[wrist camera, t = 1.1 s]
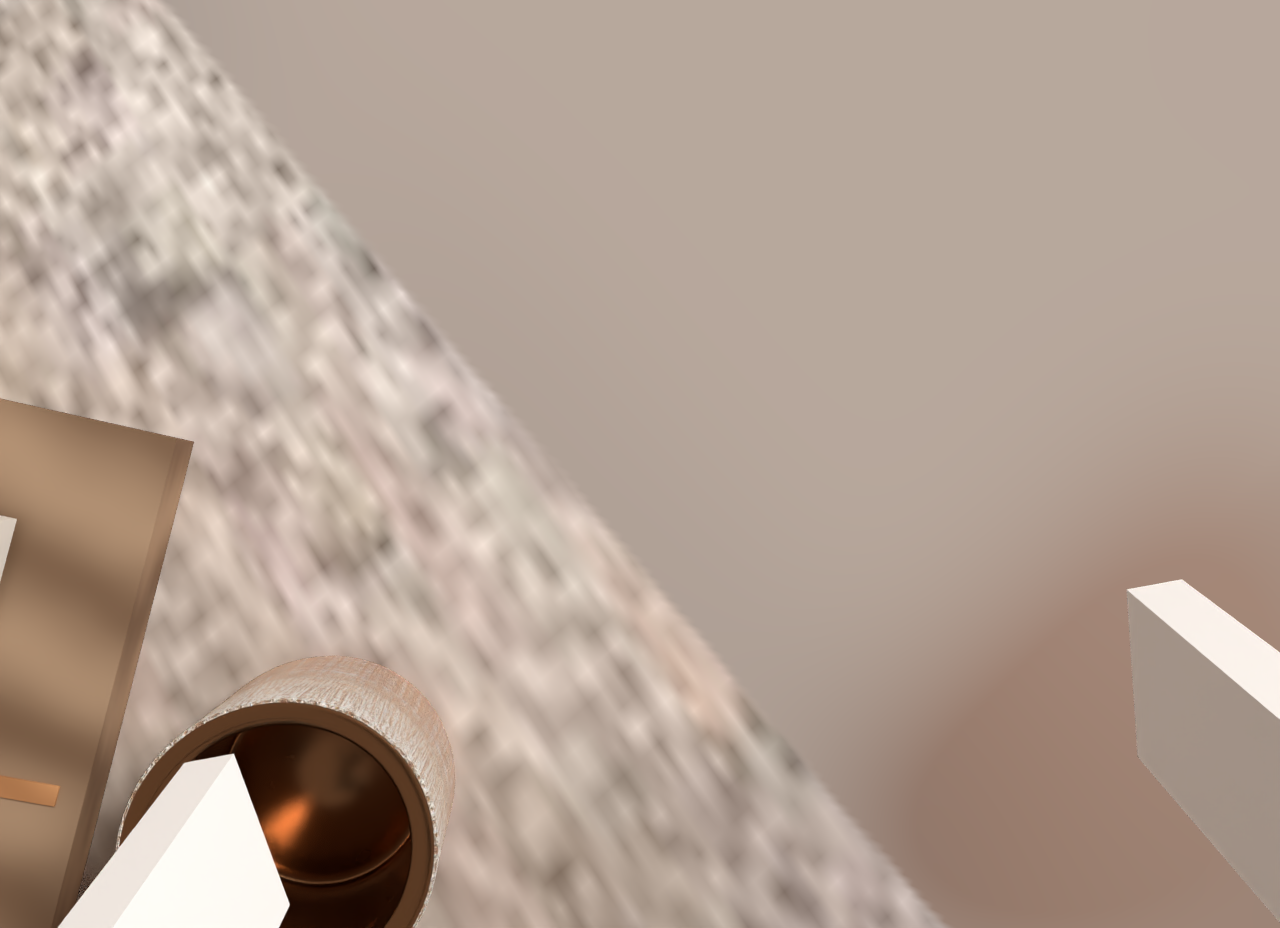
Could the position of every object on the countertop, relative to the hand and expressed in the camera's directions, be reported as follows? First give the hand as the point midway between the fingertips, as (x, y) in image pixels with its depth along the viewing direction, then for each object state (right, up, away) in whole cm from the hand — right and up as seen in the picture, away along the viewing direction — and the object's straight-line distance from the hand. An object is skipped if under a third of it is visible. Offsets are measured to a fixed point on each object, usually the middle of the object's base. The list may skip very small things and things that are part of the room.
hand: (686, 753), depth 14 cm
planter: (-14, -10, +29) cm, 33 cm away
